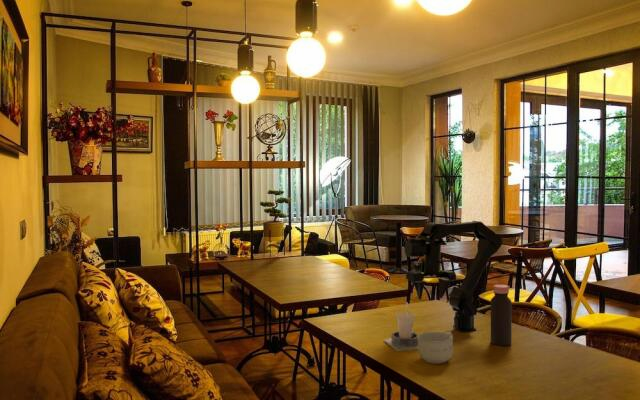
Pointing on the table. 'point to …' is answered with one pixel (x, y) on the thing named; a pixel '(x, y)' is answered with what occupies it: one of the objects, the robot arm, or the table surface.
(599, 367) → the table surface
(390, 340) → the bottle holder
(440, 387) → the table surface
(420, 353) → the teacup
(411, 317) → the smoothie
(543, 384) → the table surface
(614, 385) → the table surface
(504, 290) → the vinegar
